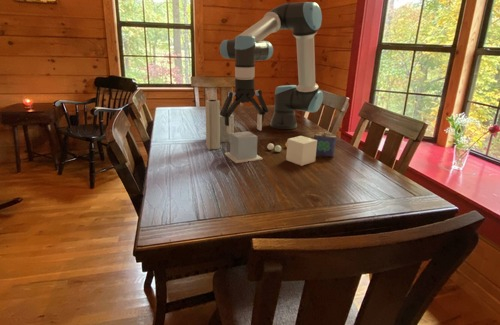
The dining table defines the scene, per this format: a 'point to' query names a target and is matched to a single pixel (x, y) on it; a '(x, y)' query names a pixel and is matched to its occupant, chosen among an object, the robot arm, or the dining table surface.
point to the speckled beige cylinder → (225, 129)
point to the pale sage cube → (243, 145)
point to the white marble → (270, 146)
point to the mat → (242, 159)
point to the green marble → (277, 148)
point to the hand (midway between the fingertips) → (244, 131)
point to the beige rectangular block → (301, 150)
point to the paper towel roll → (212, 124)
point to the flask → (325, 145)
